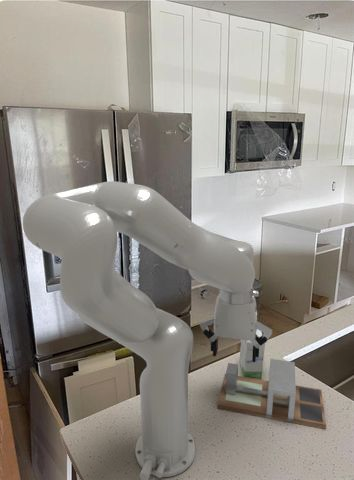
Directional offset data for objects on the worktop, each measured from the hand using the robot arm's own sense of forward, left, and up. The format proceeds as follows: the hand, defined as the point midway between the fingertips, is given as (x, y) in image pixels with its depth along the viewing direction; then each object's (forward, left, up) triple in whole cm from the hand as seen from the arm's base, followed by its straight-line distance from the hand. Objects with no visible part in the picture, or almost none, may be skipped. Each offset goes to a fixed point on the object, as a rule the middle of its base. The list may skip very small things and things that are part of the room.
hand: (234, 355), depth 91 cm
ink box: (+10, -4, -11) cm, 15 cm away
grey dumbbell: (-1, -6, -9) cm, 11 cm away
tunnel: (-1, -12, -11) cm, 16 cm away
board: (-1, -9, -11) cm, 14 cm away
